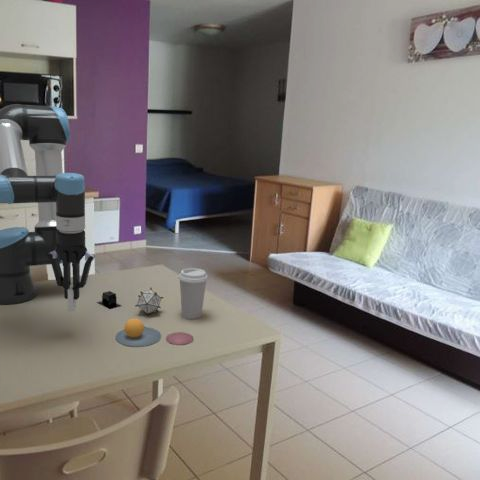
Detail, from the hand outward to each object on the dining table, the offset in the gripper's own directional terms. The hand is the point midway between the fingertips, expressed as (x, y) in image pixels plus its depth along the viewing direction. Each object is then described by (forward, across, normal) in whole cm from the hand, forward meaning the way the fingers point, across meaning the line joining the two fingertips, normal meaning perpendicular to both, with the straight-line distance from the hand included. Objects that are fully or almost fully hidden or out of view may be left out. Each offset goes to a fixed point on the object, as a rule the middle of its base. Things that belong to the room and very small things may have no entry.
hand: (72, 309), depth 137 cm
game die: (+8, +19, +17) cm, 27 cm away
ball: (+4, +18, -1) cm, 19 cm away
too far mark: (+7, +31, -1) cm, 32 cm away
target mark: (+7, +19, -1) cm, 21 cm away
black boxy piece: (+9, +5, +23) cm, 25 cm away
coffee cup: (+8, +33, +17) cm, 38 cm away
